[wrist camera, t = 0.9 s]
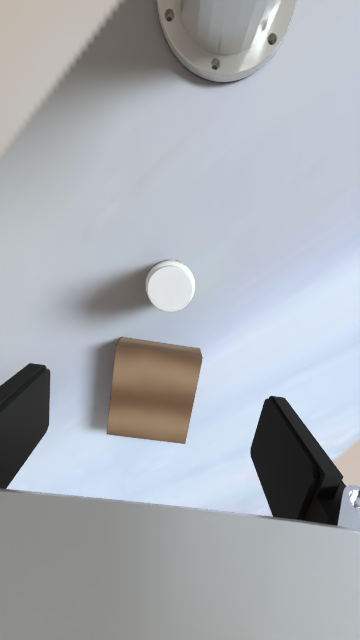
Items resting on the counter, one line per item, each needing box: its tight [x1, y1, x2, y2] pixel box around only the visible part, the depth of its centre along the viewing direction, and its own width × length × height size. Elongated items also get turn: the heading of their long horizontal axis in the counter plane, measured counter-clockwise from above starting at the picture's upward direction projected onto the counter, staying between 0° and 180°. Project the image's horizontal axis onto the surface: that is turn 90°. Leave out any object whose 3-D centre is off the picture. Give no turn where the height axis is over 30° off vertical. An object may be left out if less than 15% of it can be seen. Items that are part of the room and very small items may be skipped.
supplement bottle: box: [145, 259, 195, 312], centre depth 25 cm, size 5×5×8 cm
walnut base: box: [107, 337, 202, 444], centre depth 31 cm, size 12×10×3 cm
